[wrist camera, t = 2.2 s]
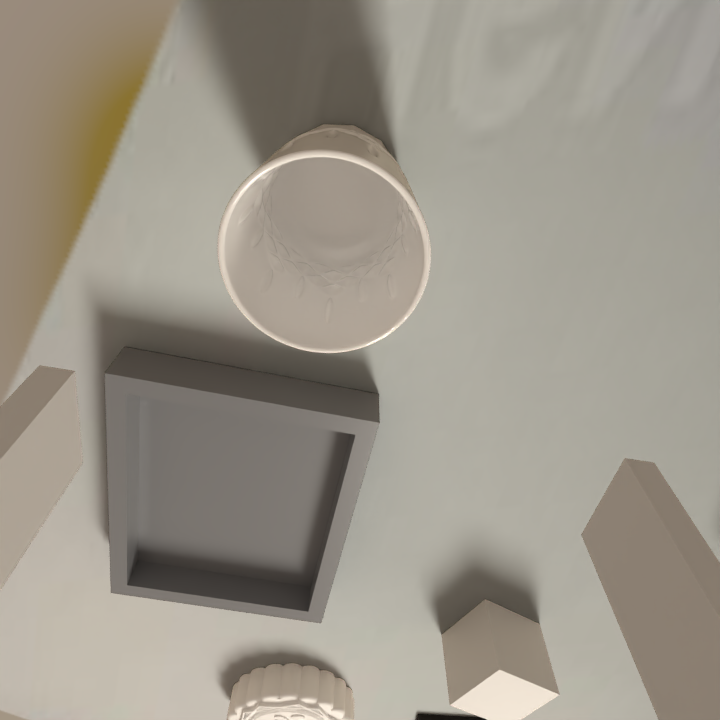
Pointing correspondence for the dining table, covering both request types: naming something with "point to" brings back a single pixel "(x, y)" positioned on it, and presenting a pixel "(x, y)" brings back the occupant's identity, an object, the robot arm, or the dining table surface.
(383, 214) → the white cup
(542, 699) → the white cube
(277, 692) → the mooncake
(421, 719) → the calculator
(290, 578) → the tray
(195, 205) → the dining table surface
